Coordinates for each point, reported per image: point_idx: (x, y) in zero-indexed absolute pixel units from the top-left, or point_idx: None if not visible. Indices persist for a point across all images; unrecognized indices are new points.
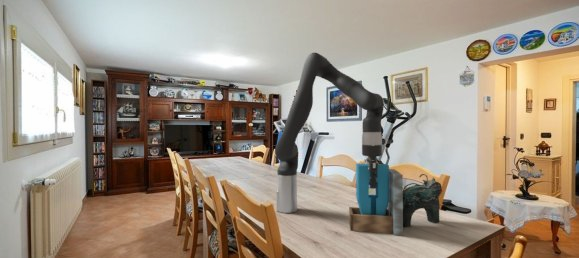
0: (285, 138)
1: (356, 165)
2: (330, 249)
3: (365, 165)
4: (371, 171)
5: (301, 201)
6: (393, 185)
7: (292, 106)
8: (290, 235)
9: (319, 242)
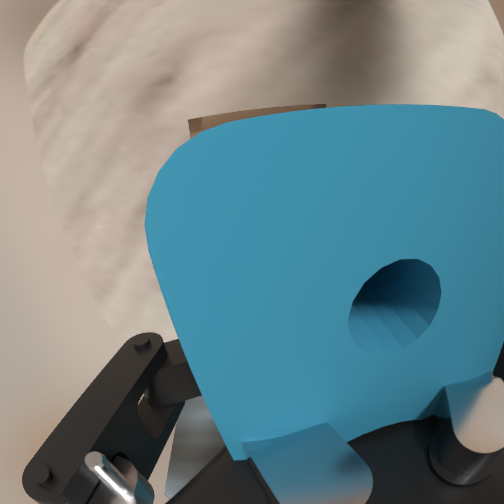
0: None
1: (379, 108)
2: (44, 108)
3: (220, 401)
4: (88, 399)
5: None
6: (188, 431)
7: None
8: None
9: (76, 61)
